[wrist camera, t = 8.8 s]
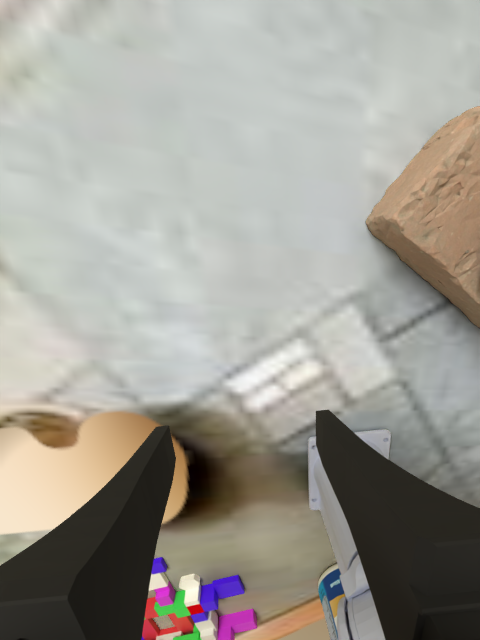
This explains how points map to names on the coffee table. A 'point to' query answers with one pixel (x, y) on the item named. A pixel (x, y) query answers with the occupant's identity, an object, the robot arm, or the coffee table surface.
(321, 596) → the beverage bottle
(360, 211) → the coffee table surface
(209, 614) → the building block set
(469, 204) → the brick
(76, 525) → the robot arm
